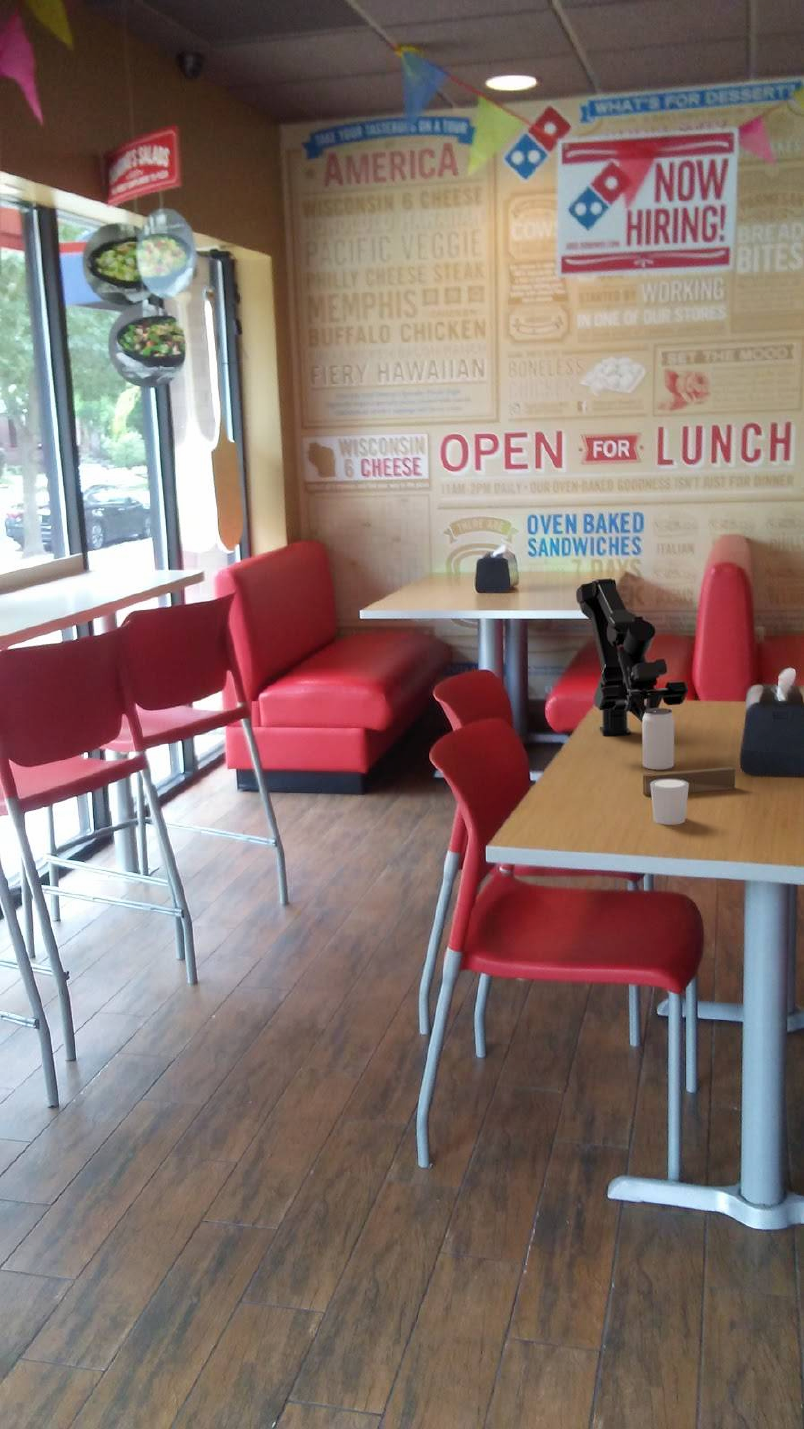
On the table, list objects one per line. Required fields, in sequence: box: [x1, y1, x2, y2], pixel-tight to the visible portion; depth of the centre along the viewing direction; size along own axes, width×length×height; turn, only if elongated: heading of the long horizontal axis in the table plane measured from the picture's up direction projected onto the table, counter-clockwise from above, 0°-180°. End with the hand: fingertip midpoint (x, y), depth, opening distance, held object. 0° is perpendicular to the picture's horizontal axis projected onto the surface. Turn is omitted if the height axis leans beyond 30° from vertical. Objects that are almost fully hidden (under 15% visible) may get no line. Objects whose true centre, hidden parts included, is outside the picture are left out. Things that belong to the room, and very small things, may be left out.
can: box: [641, 707, 675, 771], centre depth 269 cm, size 6×6×12 cm
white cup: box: [650, 779, 689, 826], centre depth 235 cm, size 7×7×7 cm
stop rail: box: [642, 766, 736, 797], centre depth 252 cm, size 2×18×4 cm, turn 97°
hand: (651, 728), depth 273 cm, fingers closed
